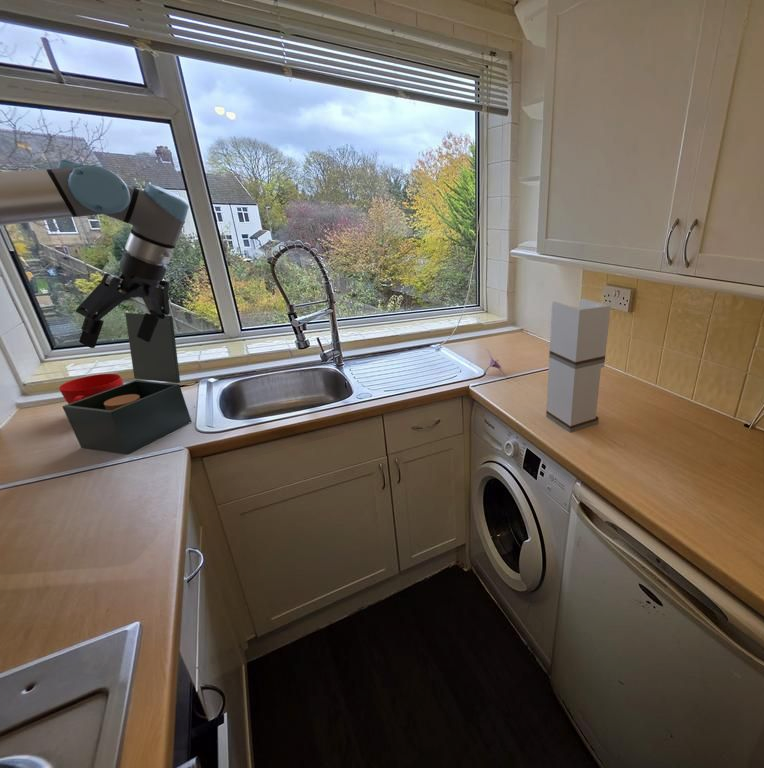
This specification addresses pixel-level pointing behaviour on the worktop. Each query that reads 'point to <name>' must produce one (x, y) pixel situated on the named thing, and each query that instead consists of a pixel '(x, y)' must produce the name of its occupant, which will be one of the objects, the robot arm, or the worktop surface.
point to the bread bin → (128, 417)
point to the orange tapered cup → (120, 401)
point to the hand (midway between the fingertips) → (116, 342)
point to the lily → (494, 364)
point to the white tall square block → (576, 362)
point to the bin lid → (153, 350)
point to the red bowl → (89, 386)
